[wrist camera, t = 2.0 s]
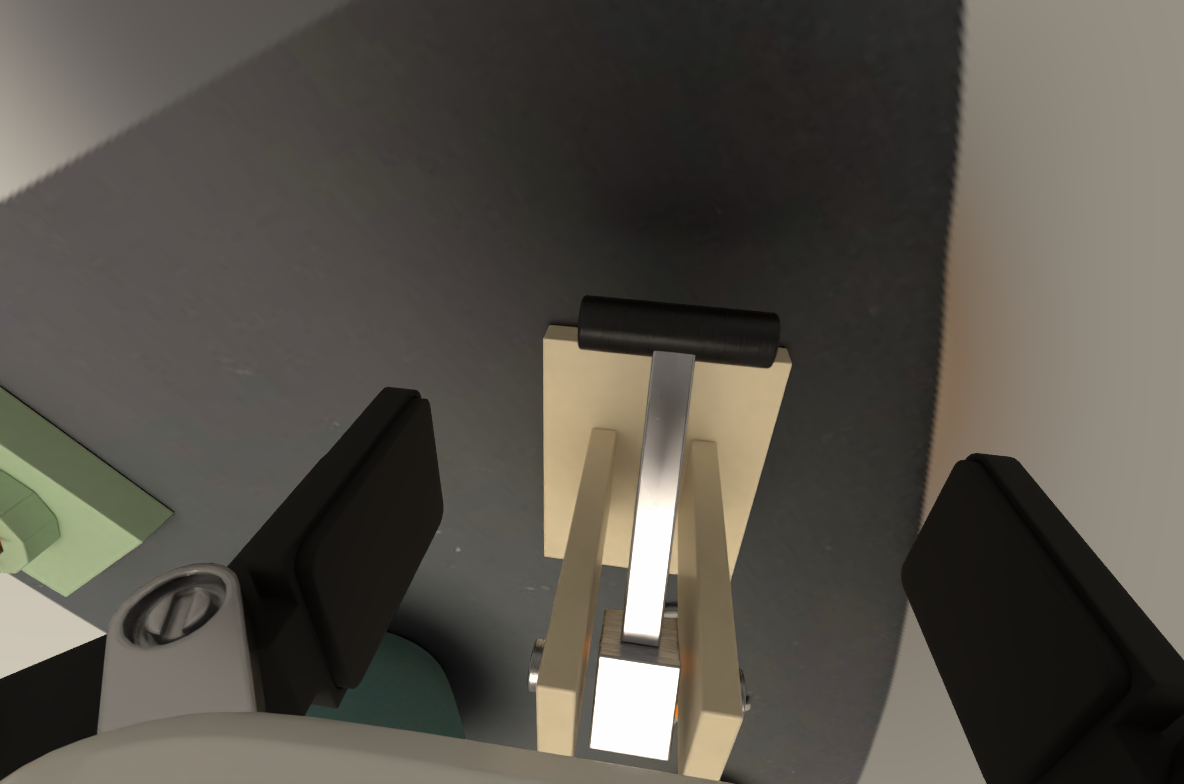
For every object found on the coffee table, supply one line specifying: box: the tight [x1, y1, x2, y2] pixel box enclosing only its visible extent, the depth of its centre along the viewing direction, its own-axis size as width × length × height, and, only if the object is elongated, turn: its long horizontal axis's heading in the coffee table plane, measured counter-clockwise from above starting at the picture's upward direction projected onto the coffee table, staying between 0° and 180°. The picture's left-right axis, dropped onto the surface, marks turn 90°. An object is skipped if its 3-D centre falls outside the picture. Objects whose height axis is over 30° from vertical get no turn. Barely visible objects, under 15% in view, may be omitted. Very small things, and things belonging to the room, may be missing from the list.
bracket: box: [528, 325, 792, 781], centre depth 19 cm, size 12×9×12 cm
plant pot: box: [305, 632, 466, 739], centre depth 31 cm, size 18×18×12 cm
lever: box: [577, 295, 780, 761], centre depth 15 cm, size 12×5×2 cm, turn 177°
